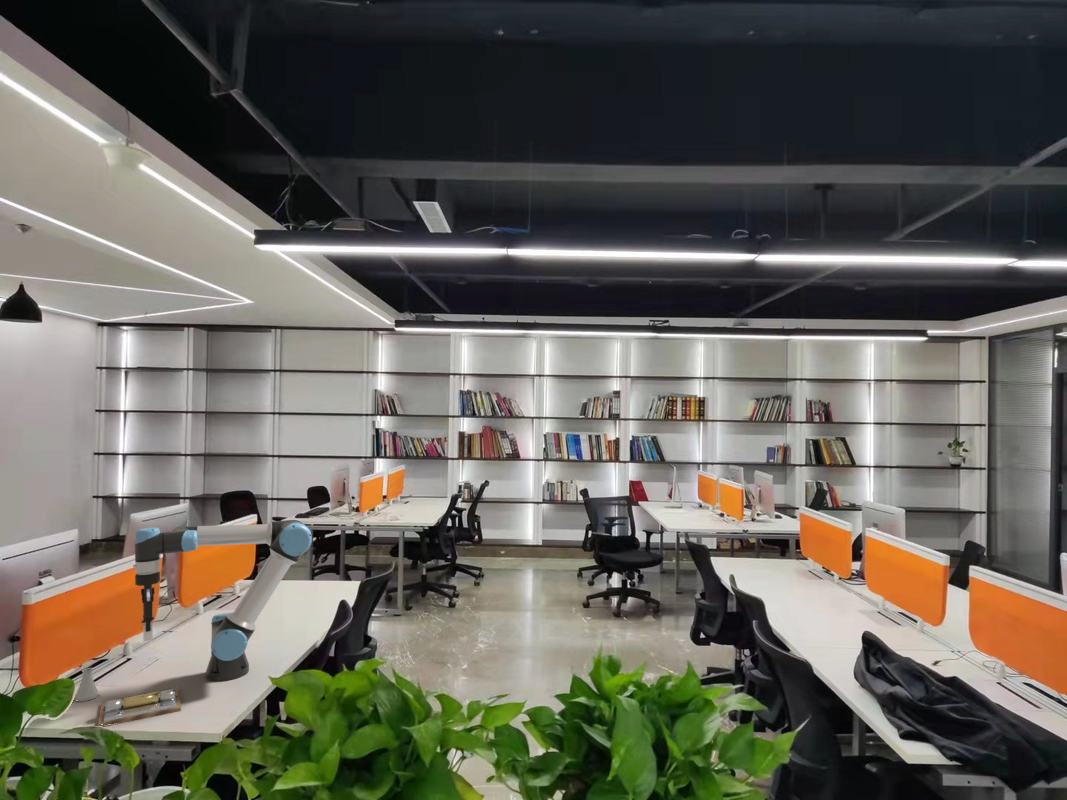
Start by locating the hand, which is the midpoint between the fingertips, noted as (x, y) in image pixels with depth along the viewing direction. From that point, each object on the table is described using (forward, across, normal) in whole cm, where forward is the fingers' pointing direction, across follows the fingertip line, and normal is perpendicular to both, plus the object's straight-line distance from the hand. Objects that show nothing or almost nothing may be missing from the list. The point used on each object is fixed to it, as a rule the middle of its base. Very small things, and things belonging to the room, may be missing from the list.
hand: (147, 639), depth 224 cm
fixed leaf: (+20, +12, -3) cm, 23 cm away
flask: (+21, -14, -18) cm, 31 cm away
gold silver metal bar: (+19, +7, -2) cm, 21 cm away
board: (+21, +6, -2) cm, 22 cm away
